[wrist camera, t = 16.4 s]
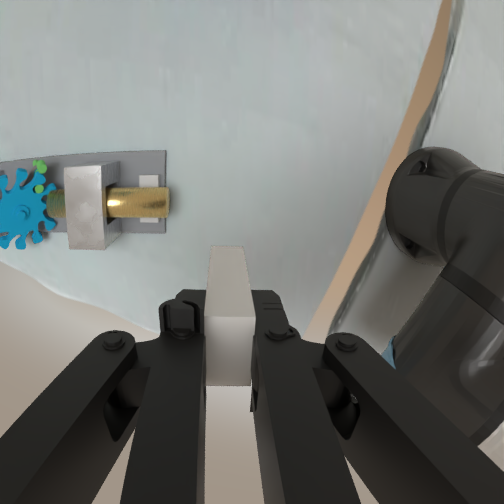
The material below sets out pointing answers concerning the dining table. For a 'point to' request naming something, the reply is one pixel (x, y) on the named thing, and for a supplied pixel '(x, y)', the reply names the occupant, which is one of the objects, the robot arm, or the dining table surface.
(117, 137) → the dining table surface
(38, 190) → the gear
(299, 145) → the dining table surface
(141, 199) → the shaft
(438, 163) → the robot arm
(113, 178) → the bearing block
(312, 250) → the dining table surface
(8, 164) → the housing
